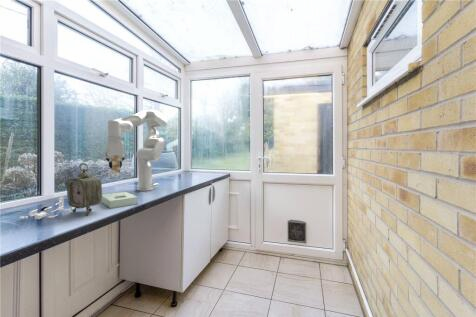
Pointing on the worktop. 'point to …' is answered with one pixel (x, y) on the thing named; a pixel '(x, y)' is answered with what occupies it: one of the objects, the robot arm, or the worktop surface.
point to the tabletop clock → (84, 191)
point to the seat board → (119, 199)
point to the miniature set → (44, 214)
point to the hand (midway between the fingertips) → (115, 167)
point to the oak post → (115, 164)
